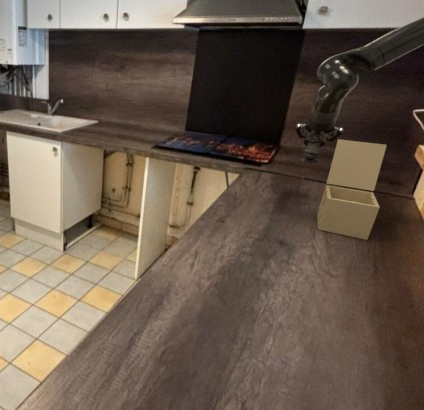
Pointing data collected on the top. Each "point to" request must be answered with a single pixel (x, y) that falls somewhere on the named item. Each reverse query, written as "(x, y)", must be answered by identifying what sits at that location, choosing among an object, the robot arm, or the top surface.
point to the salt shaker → (312, 150)
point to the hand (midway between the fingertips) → (313, 144)
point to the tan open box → (347, 211)
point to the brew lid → (356, 164)
